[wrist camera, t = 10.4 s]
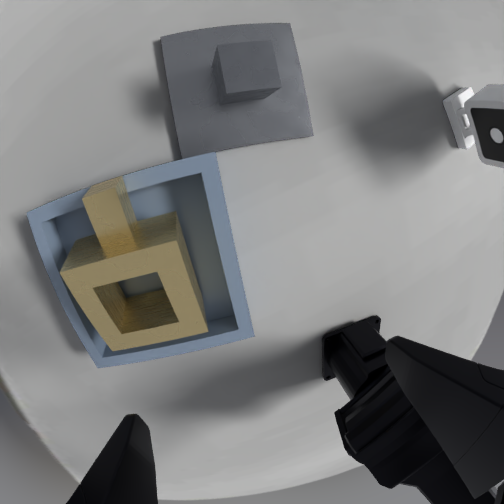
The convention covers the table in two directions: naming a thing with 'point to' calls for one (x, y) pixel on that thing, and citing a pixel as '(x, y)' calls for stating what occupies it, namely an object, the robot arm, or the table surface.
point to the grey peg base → (235, 87)
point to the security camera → (479, 121)
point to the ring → (133, 273)
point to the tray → (203, 261)
